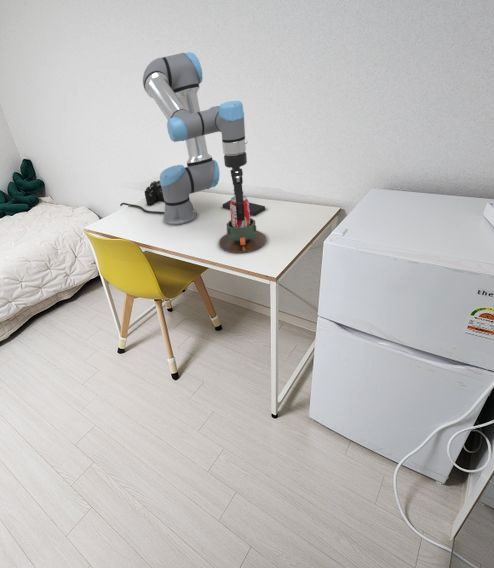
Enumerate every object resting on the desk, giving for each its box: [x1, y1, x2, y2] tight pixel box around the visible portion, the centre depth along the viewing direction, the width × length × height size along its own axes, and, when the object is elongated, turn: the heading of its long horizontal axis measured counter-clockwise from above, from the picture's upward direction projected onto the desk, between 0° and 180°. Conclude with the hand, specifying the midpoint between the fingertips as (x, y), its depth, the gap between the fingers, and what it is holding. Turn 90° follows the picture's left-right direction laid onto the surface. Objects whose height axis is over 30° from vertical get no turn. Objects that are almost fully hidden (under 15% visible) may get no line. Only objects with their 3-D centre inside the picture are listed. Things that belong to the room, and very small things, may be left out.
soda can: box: [229, 195, 251, 228], centre depth 129 cm, size 7×7×12 cm
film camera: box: [144, 179, 164, 206], centre depth 188 cm, size 18×12×10 cm
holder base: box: [218, 230, 267, 254], centre depth 135 cm, size 18×18×3 cm
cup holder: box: [226, 217, 257, 245], centre depth 131 cm, size 14×11×5 cm
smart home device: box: [222, 199, 266, 217], centre depth 162 cm, size 8×2×20 cm
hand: (240, 216), depth 130 cm, fingers closed on soda can, 7 cm apart
